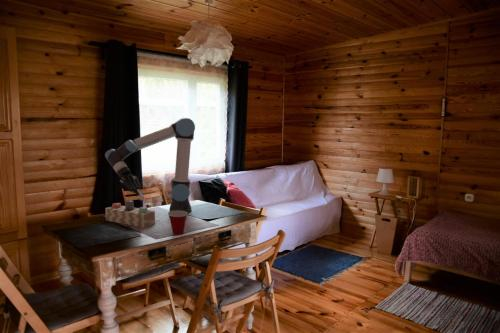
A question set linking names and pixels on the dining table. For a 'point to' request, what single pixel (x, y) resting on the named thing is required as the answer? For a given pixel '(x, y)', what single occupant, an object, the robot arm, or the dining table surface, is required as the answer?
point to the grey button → (129, 205)
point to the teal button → (143, 210)
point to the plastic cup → (177, 221)
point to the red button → (116, 205)
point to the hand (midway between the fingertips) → (143, 198)
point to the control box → (130, 216)
